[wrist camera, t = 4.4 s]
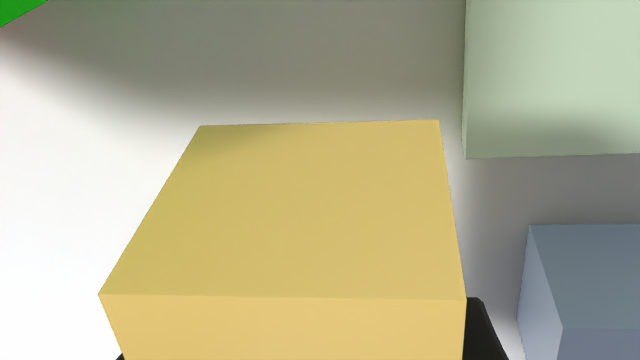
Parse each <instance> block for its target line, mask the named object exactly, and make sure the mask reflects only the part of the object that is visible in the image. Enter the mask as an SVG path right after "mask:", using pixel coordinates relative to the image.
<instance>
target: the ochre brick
mask: <svg viewBox="0 0 640 360" xmlns="http://www.w3.org/2000/svg"><path fill="white" fill-rule="evenodd" d="M98 296H99V298H100V301H101V303H102V305H103V308H104V310H105V313H106V315H107V318H108V320H109V322H110V325H111V327H112V330H113V332H114V334H115V337H116V339H117V342H118V344H119V346H120V349H121V351H122V354H123V356H124V359H125V360H462V352H463V340H464V328H465V316H466V303H467V299H466V292H465V286H464V279H463V273H462V266H461V260H460V253H459V247H458V240H457V234H456V227H455V221H454V214H453V208H452V201H451V195H450V188H449V182H448V175H447V169H446V162H445V156H444V149H443V143H442V136H441V130H440V123H439V119H435V120H397V121H359V122H321V123H282V124H244V125H206V126H199V128H198V130H197V131H196V133H195V135H194V136H193V138H192V140H191V141H190V143H189V145H188V146H187V148H186V149H185V151H184V153H183V154H182V156H181V158H180V159H179V161H178V163H177V164H176V166H175V168H174V169H173V171H172V173H171V174H170V176H169V178H168V179H167V181H166V182H165V184H164V186H163V187H162V189H161V191H160V192H159V194H158V196H157V197H156V199H155V201H154V202H153V204H152V206H151V207H150V209H149V211H148V212H147V214H146V215H145V217H144V219H143V220H142V222H141V224H140V225H139V227H138V229H137V230H136V232H135V234H134V235H133V237H132V239H131V240H130V242H129V244H128V245H127V247H126V248H125V250H124V252H123V253H122V255H121V257H120V258H119V260H118V262H117V263H116V265H115V267H114V268H113V270H112V272H111V273H110V275H109V277H108V278H107V280H106V281H105V283H104V285H103V286H102V288H101V290H100V291H99V293H98Z"/></svg>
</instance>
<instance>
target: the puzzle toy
mask: <svg viewBox="0 0 640 360" xmlns="http://www.w3.org/2000/svg"><path fill="white" fill-rule="evenodd" d="M46 1H48V0H0V27H1V26H3V25H5V24H7V23H9V22H10V21H12V20H14V19H16V18H17V17H19V16H21V15H23V14H25V13H26V12H28V11H30V10H32V9H34V8H35V7H37V6H39V5H41V4H42V3H44V2H46Z"/></svg>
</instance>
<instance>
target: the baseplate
mask: <svg viewBox="0 0 640 360" xmlns="http://www.w3.org/2000/svg"><path fill="white" fill-rule="evenodd" d="M462 144H463V149H464V154H465V159H488V158H517V157H545V156H574V155H603V154H631V153H640V0H466V19H465V50H464V81H463V113H462Z"/></svg>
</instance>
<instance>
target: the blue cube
mask: <svg viewBox="0 0 640 360" xmlns="http://www.w3.org/2000/svg"><path fill="white" fill-rule="evenodd" d="M517 323H518V327H519V331H520V335H521V339H522V344H523V348H524V352H525V356H526V360H640V224H540V225H529V231H528V238H527V246H526V253H525V261H524V268H523V276H522V283H521V291H520V298H519V306H518V313H517Z"/></svg>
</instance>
